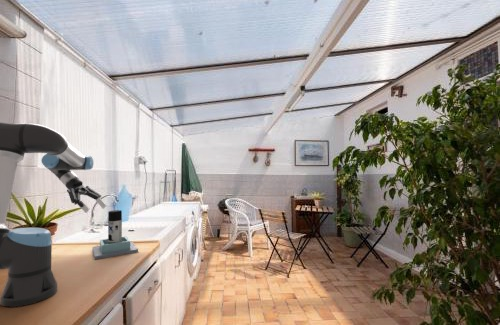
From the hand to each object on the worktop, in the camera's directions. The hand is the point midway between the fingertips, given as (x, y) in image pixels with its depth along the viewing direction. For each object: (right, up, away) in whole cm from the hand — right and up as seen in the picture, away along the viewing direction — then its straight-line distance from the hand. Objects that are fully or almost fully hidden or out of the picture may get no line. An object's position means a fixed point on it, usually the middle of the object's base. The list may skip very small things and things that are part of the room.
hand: (96, 208), depth 145 cm
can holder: (+11, -23, -2) cm, 25 cm away
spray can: (+11, -21, -1) cm, 24 cm away
